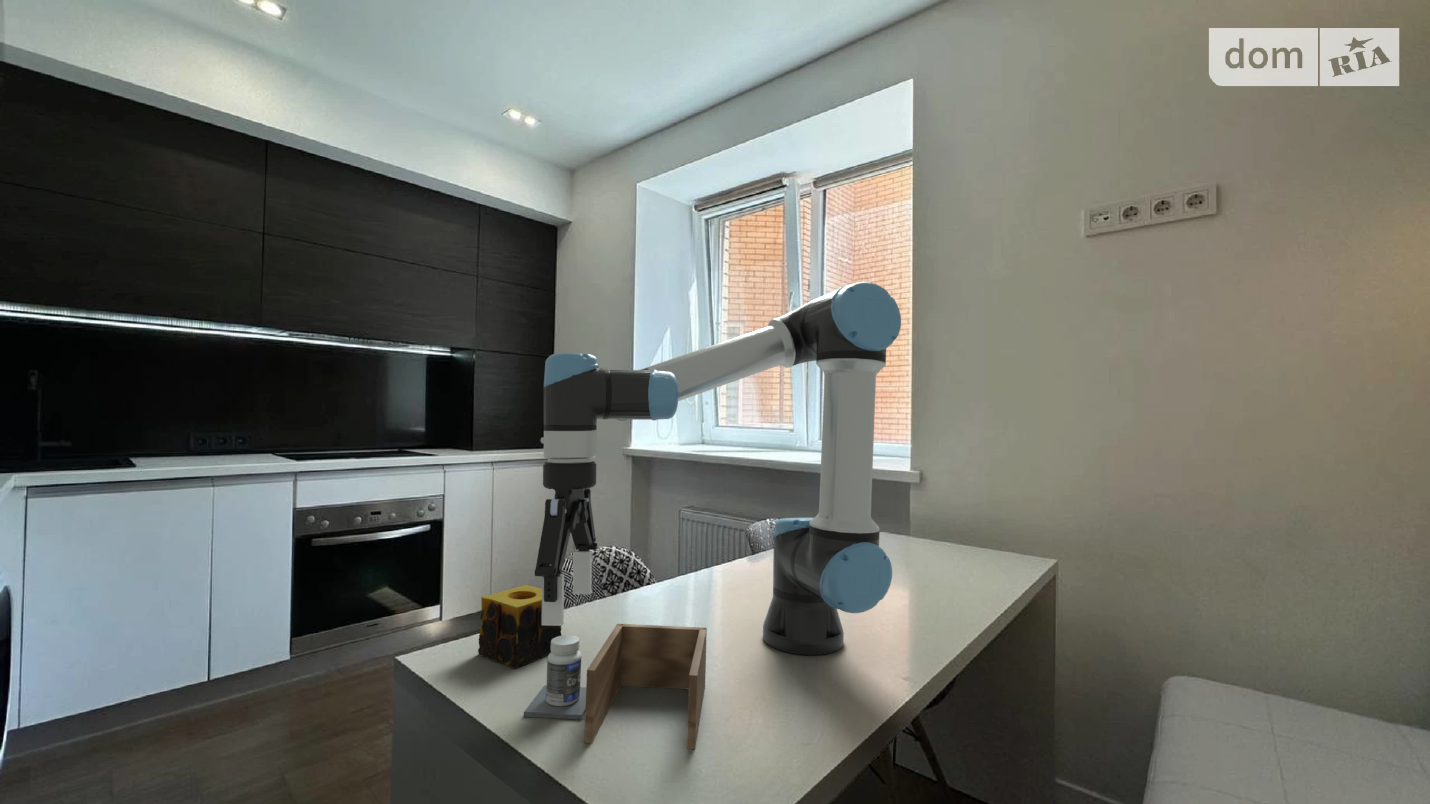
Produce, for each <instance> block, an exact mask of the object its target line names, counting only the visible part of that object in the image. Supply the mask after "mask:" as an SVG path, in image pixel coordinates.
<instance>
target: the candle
mask: <svg viewBox="0 0 1430 804" xmlns="http://www.w3.org/2000/svg"><path fill="white" fill-rule="evenodd" d="M480 599H481V603H480V605H481V613H480V629H479V635H478V637H479V638H478V646H479V647H478V649H477V652H478V655H479V656H481V657H483V658H486V659H488V660H491V661H493V662H495V663H498V664H500V663H501V664H505V665H506V666H508V667H510V668H512V669H517V668H520V667H522V666H524V665H528V664H530V663H532V662H534V661H537V660H539V659H543V658H544V657H546V656H548V655H549V654H550V653H551V640H552V639H553V638H555V637H558V636H562V626H548V625H542V587H536V586H533V585H528V584H525V585H520V586H515V587H513V588H509V589H505V590H503V591H499V592H496V593H492V594H487V595H484V596H481V598H480Z"/></svg>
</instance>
